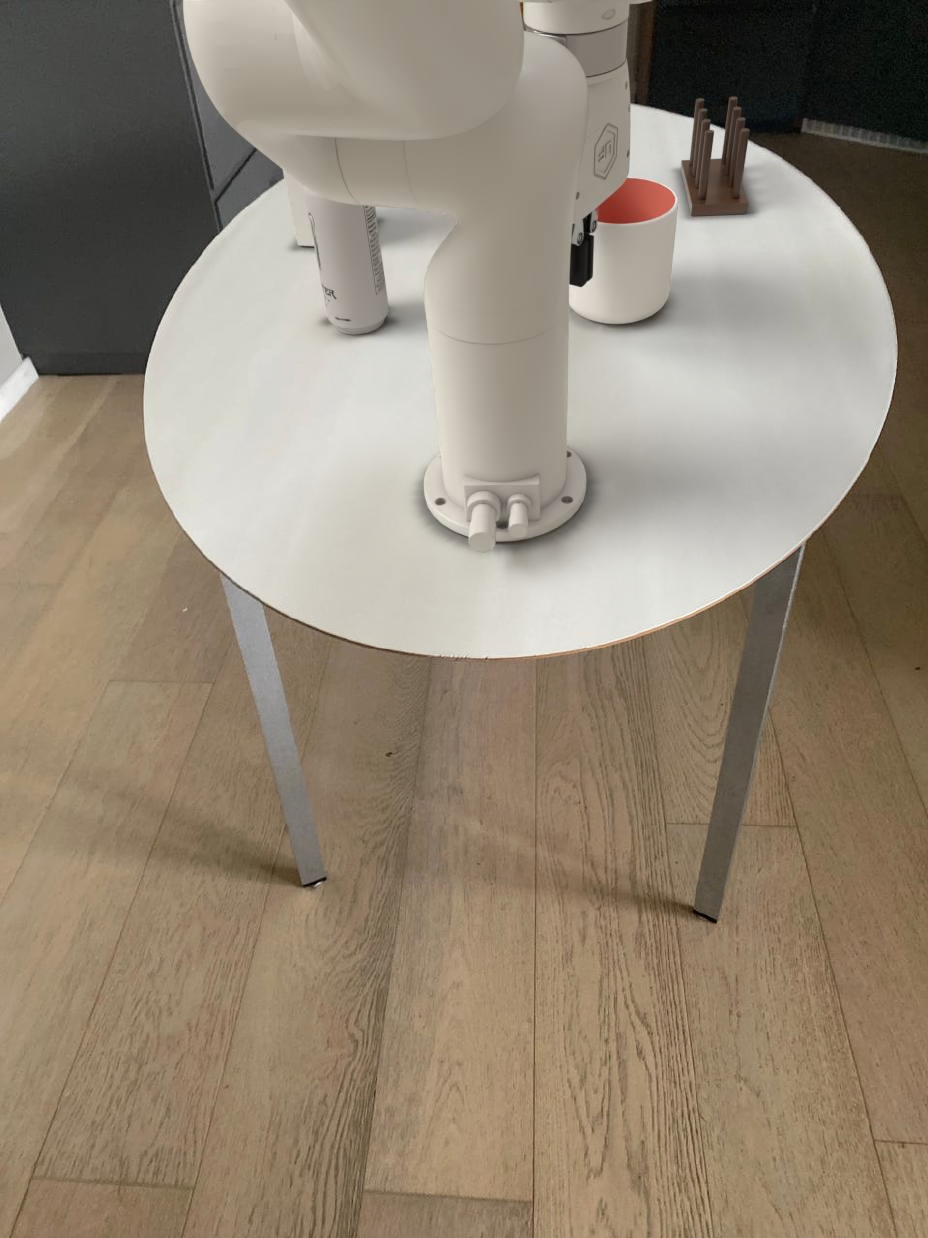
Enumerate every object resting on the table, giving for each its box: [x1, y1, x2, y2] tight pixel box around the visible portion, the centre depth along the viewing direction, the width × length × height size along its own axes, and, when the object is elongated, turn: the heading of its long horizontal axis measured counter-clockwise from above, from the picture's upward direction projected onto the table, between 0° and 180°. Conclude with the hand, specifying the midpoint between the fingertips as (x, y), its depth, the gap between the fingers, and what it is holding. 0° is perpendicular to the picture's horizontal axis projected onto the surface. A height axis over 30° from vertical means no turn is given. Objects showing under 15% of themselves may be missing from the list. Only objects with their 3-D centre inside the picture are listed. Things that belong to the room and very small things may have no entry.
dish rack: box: [680, 96, 750, 217], centre depth 105 cm, size 12×6×8 cm, turn 177°
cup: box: [569, 176, 680, 325], centre depth 89 cm, size 10×10×10 cm
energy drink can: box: [303, 186, 390, 335], centre depth 88 cm, size 6×6×15 cm
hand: (572, 279), depth 83 cm, fingers closed
